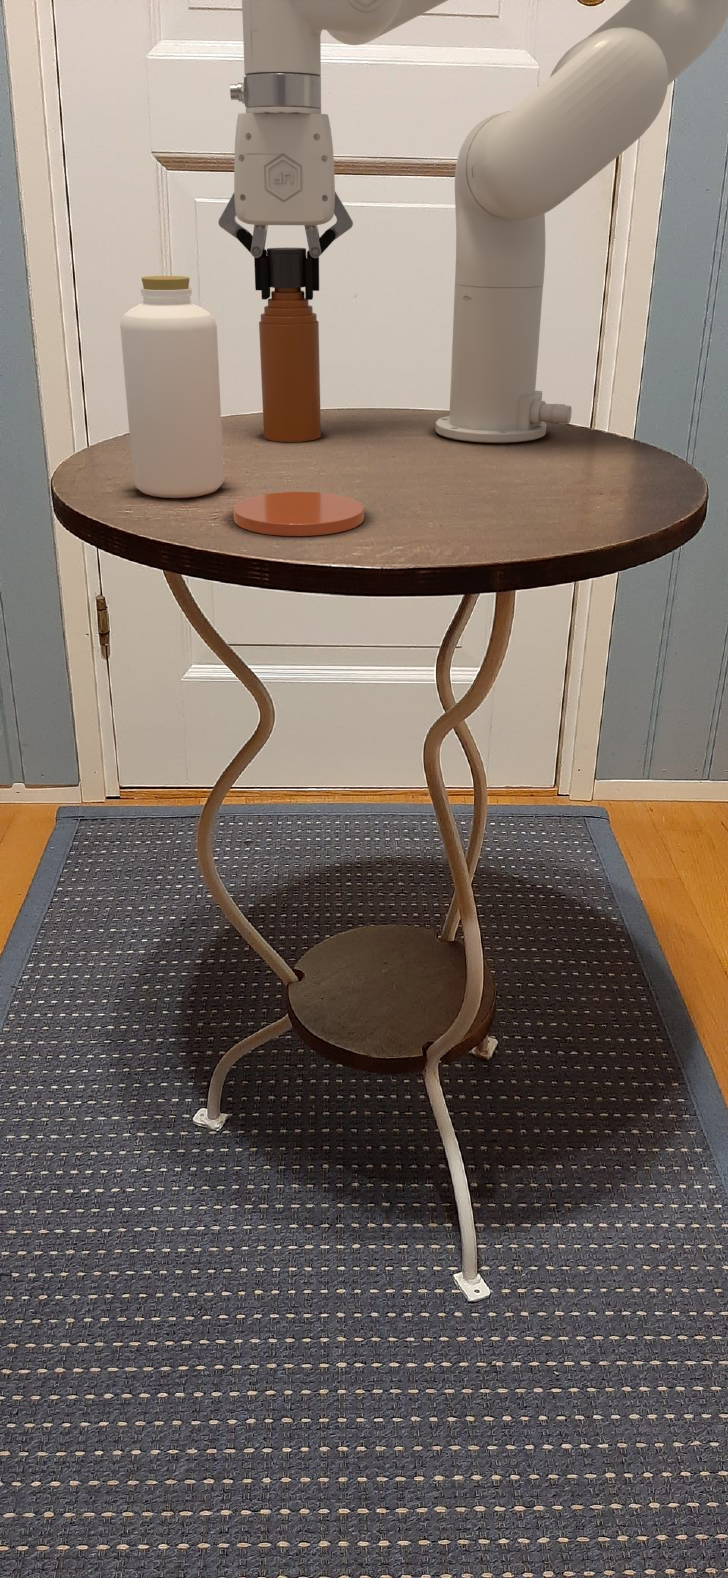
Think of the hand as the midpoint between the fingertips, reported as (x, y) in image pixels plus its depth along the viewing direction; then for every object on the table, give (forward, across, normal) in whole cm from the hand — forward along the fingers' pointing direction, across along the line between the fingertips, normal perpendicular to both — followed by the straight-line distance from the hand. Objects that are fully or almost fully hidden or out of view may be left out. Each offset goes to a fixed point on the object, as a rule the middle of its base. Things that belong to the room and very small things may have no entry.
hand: (287, 296), depth 122 cm
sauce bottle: (+14, 0, 0) cm, 14 cm away
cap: (-1, 0, 0) cm, 1 cm away
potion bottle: (+15, -9, -26) cm, 31 cm away
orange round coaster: (+14, +3, -36) cm, 39 cm away
